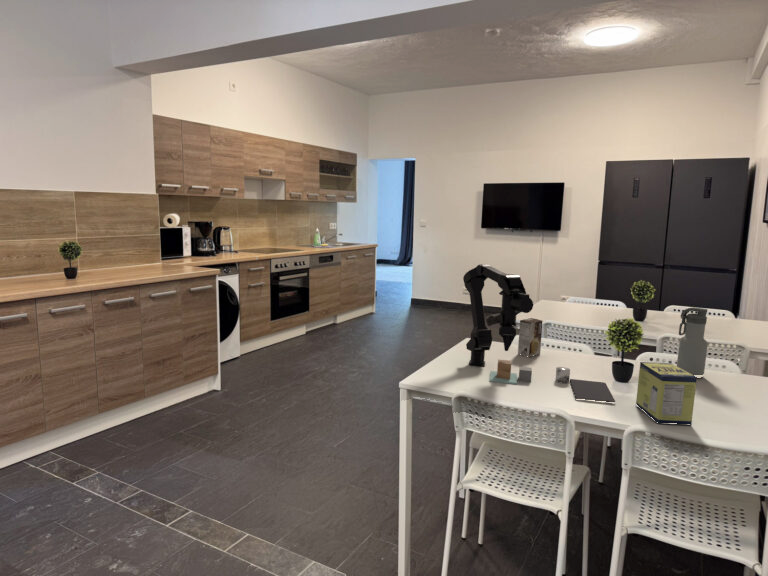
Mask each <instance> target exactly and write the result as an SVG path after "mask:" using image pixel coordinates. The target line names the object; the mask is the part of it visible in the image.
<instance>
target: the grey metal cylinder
mask: <svg viewBox="0 0 768 576" xmlns="http://www.w3.org/2000/svg"><path fill="white" fill-rule="evenodd" d="M570 375H571V368H568V367H565V366H557V367H556V369H555V379H554V380H556V381H558V382H557V383H559V382H562V383H561V384H568V383H567V382H569V383H570V379H571V378H570ZM556 381H555V382H556Z"/></svg>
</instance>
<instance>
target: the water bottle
mask: <svg viewBox="0 0 768 576" xmlns="http://www.w3.org/2000/svg"><path fill="white" fill-rule="evenodd" d="M689 312H697V313H689ZM707 313H708V309H707V308H703V307H702V308H701V307H695V306H694V307H692V306H691V307H689V308H685V309H684V310H683V311H681V313H680V319H681V323H679V326H678V327H679V329H678V336H682V337H680V339H679V344H678V345H679V346H678V351H677V352H678V353H677V361H676V366H677V367H679V368H680V369H682V370H684V371H686V372H688V373H690V374H692V375H703V374H704V375H705V367H706V361H707V353H708V345H709V344H708V341H707V340H706V339H705V329H706V325H707V319H708V317H707ZM683 325H684V326H683ZM682 327H683V328H682ZM682 329H683V332H682ZM683 335H684V336H683Z"/></svg>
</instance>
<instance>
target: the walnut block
mask: <svg viewBox="0 0 768 576" xmlns="http://www.w3.org/2000/svg"><path fill="white" fill-rule="evenodd" d="M496 369H497V370H496V371H497V378H502V379H510V375H511V373H512V360H507V359H499V358H498V359H497V368H496Z"/></svg>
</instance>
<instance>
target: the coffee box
mask: <svg viewBox="0 0 768 576" xmlns="http://www.w3.org/2000/svg"><path fill="white" fill-rule="evenodd" d="M518 330H519V332H518V333H519V334H518V344H517V346H518V347H517V355H518V354H521V355H520V356H522V355H525V356H524V357H526V356H528V357H527V358H531V357H530V356H532V357H534V356H533V355H536V356H538V355H537V354H539V355H541V348H542V335H543V333H542V332H543V320H542V319H537V318H532V317H531V318H525V319H520V320H519V329H518Z"/></svg>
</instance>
